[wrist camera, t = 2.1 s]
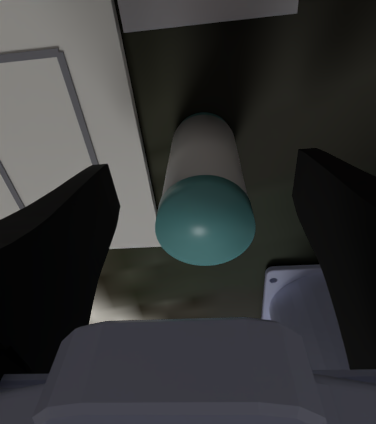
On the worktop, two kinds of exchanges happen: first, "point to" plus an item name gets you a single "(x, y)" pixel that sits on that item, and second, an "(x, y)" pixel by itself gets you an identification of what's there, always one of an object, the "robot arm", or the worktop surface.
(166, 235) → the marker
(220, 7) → the button housing
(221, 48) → the worktop surface
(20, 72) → the picture card
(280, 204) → the worktop surface
